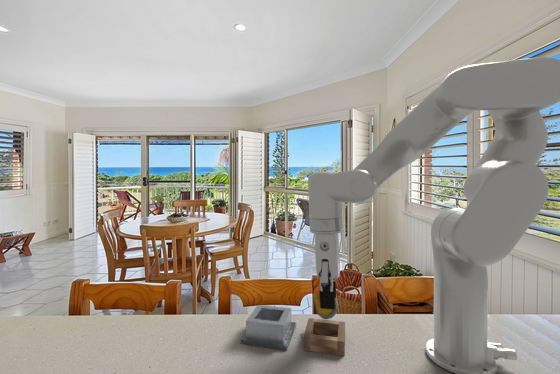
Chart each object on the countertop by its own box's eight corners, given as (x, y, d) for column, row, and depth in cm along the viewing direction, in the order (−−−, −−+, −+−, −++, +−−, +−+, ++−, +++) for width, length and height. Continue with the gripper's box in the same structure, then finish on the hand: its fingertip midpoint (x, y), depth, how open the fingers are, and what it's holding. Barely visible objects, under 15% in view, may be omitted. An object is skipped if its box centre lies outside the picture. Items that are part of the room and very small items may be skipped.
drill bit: (345, 320, 65) (324, 299, 60) (325, 327, 66) (303, 308, 62) (341, 299, 69) (321, 278, 64) (322, 306, 71) (301, 286, 66)
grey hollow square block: (296, 326, 73) (295, 307, 73) (286, 350, 63) (286, 328, 63) (255, 321, 76) (255, 303, 76) (240, 343, 65) (240, 322, 65)
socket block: (345, 334, 69) (345, 321, 69) (344, 355, 61) (344, 341, 61) (308, 329, 72) (308, 318, 72) (303, 350, 63) (303, 336, 63)
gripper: (341, 231, 57) (344, 321, 57) (343, 220, 73) (345, 290, 73) (304, 231, 58) (307, 318, 58) (314, 220, 75) (316, 288, 75)
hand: (328, 302), depth 66 cm, fingers closed on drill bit, 5 cm apart
